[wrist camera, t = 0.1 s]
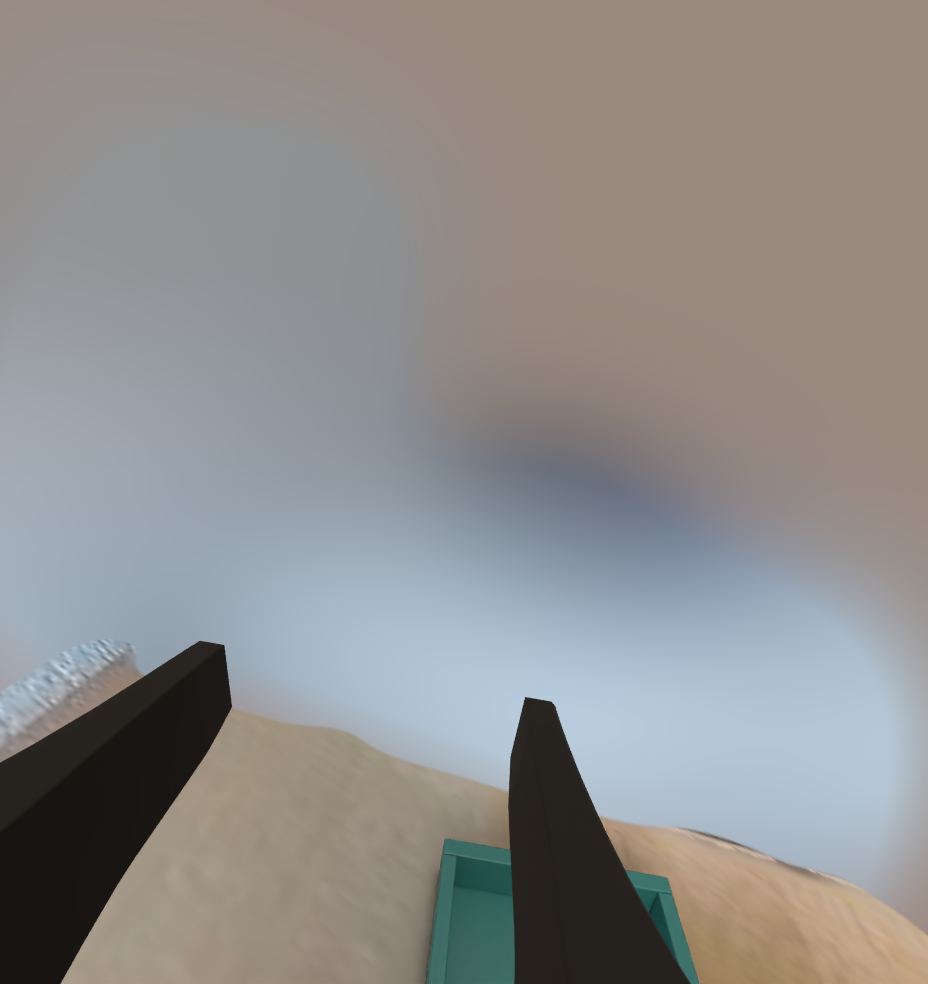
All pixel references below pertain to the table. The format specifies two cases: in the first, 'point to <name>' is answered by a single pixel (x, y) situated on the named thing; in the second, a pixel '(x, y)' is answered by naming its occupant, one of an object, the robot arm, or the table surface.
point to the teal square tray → (510, 917)
